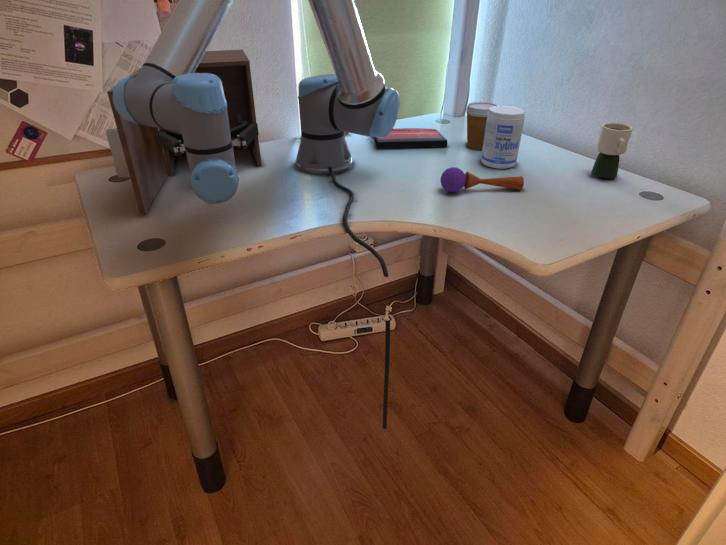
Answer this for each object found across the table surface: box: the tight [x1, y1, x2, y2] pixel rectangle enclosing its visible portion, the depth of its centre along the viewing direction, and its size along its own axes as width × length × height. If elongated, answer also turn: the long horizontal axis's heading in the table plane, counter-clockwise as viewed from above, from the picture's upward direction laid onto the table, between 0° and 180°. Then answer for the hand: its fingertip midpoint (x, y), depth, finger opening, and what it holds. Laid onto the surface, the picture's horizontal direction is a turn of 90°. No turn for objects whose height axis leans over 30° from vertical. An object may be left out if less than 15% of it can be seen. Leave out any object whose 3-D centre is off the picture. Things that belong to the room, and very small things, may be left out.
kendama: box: [439, 166, 525, 193], centre depth 119 cm, size 6×6×20 cm
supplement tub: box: [480, 105, 526, 170], centre depth 132 cm, size 10×10×15 cm
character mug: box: [590, 122, 633, 179], centre depth 125 cm, size 11×7×13 cm, turn 179°
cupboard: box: [104, 49, 262, 215], centre depth 121 cm, size 41×32×27 cm
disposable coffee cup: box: [465, 101, 498, 150], centre depth 146 cm, size 10×10×12 cm
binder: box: [373, 127, 448, 150], centre depth 153 cm, size 16×2×21 cm
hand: (207, 123), depth 108 cm, fingers open, 13 cm apart
